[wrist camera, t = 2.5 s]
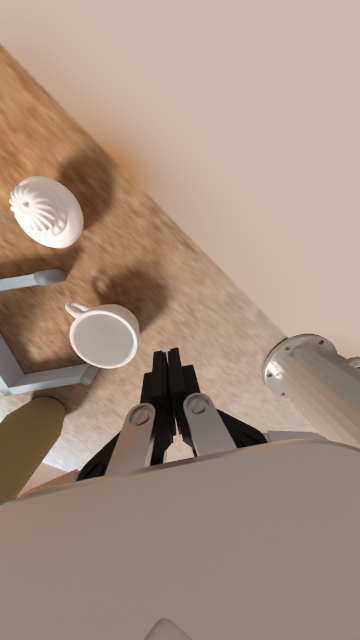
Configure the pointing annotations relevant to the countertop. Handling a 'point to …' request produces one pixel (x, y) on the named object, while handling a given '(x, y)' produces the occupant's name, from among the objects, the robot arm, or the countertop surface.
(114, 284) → the countertop surface
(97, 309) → the teacup
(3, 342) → the bay
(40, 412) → the squeeze bottle
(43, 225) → the muffin
